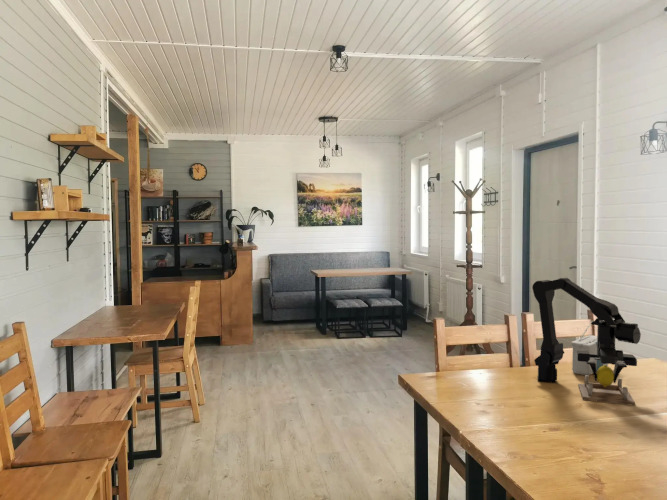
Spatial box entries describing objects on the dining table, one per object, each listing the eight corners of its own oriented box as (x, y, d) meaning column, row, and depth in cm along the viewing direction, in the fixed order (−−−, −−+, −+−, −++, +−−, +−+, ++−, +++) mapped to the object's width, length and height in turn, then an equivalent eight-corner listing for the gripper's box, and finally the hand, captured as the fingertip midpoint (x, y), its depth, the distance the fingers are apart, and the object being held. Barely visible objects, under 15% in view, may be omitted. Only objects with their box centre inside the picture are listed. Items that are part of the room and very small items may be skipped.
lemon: (609, 384, 185) (610, 363, 185) (616, 389, 180) (617, 367, 179) (593, 384, 186) (594, 362, 186) (600, 389, 180) (600, 367, 180)
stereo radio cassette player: (589, 377, 204) (590, 328, 203) (569, 373, 210) (569, 325, 209) (609, 367, 218) (610, 321, 217) (589, 364, 224) (590, 319, 223)
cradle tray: (582, 399, 178) (583, 385, 178) (578, 386, 193) (578, 373, 193) (635, 405, 173) (635, 390, 172) (626, 391, 188) (626, 377, 187)
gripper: (579, 341, 178) (578, 385, 178) (640, 345, 171) (639, 391, 172) (576, 334, 188) (575, 376, 189) (634, 338, 182) (632, 381, 182)
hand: (605, 381), depth 183 cm, fingers closed on lemon, 5 cm apart
